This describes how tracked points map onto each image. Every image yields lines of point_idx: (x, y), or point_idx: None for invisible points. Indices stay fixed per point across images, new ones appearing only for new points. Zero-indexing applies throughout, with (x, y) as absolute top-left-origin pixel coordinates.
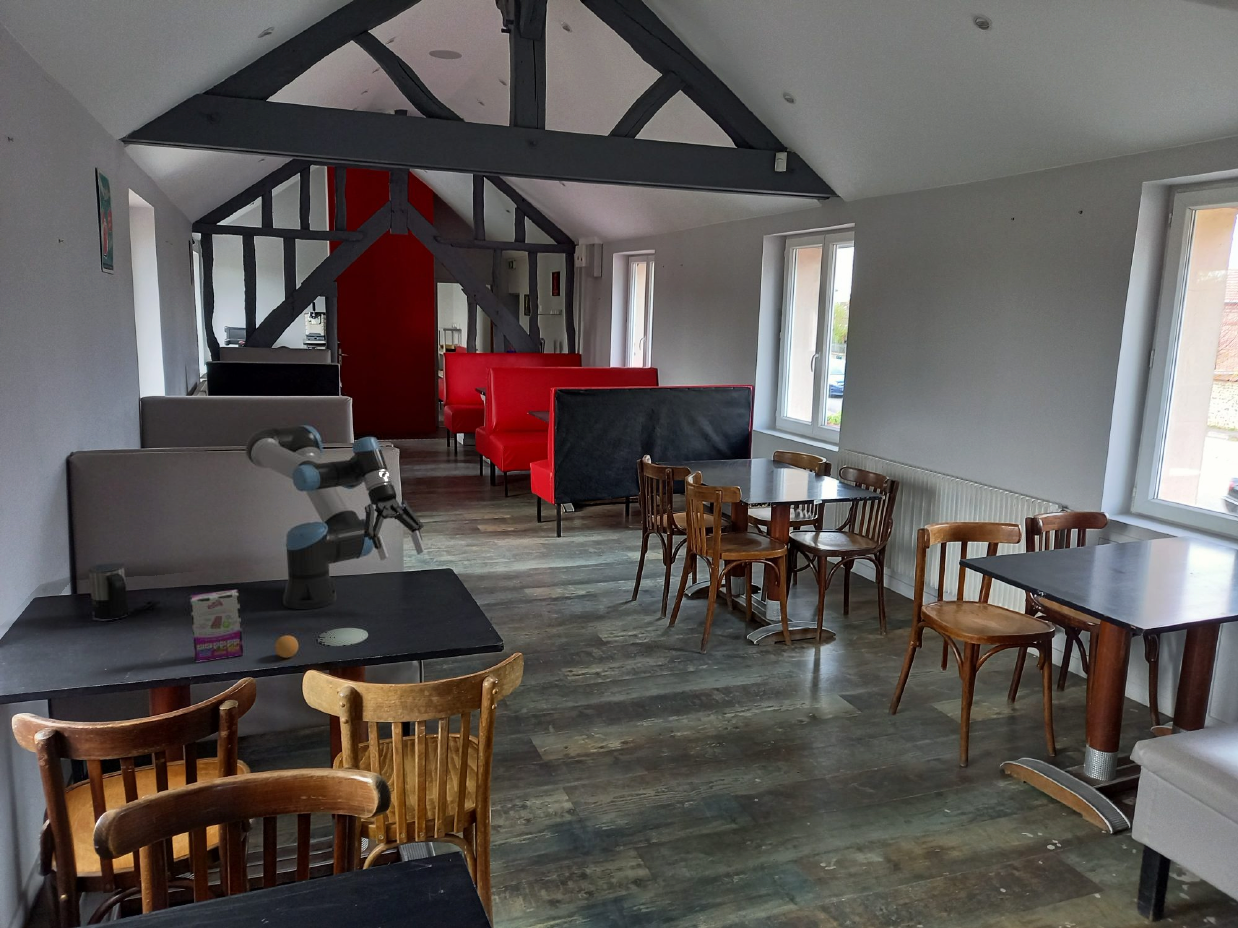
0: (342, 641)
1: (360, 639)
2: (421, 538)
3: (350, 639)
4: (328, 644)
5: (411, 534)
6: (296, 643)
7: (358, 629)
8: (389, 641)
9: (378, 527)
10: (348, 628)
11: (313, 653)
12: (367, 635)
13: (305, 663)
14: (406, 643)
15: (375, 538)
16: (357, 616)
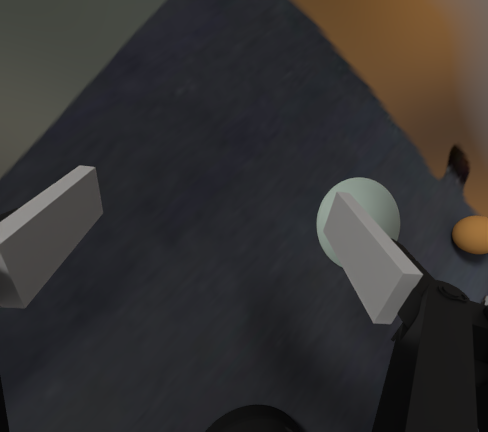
0: (376, 204)
1: (354, 183)
2: (4, 217)
3: (363, 199)
4: (397, 215)
5: (27, 292)
6: (477, 218)
7: (320, 227)
8: (332, 130)
9: (452, 341)
10: (326, 248)
11: (430, 208)
12: (334, 187)
13: (460, 186)
14: (323, 94)
15: (430, 280)
16: (264, 292)
